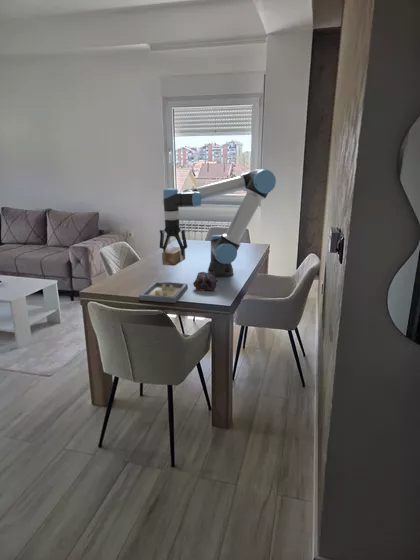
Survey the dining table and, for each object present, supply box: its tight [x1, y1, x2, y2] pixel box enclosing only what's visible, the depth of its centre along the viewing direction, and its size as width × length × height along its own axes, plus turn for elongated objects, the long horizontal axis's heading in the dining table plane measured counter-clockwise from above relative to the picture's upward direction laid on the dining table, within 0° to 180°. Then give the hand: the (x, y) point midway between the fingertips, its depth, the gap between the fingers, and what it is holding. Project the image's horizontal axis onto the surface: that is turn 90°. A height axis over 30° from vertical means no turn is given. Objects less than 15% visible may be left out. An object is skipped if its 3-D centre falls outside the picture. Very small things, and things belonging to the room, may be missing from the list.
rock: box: [192, 271, 219, 291], centre depth 198 cm, size 12×9×10 cm
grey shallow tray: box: [139, 280, 189, 304], centre depth 191 cm, size 18×22×3 cm
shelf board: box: [161, 246, 186, 267], centre depth 205 cm, size 7×14×6 cm, turn 160°
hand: (174, 260), depth 206 cm, fingers closed on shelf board, 7 cm apart
